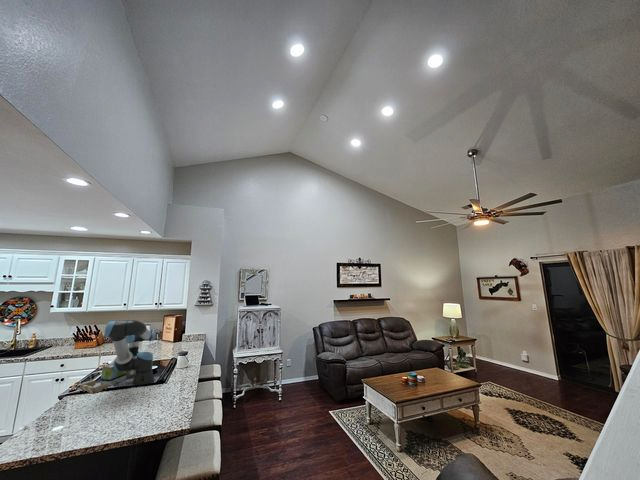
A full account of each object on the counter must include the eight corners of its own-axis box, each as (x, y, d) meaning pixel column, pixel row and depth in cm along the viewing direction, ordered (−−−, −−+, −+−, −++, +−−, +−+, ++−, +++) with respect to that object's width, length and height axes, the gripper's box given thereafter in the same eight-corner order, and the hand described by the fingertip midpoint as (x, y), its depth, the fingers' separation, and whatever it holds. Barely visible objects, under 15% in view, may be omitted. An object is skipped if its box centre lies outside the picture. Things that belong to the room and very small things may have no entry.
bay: (108, 388, 219) (108, 383, 219) (93, 393, 210) (93, 388, 210) (94, 385, 226) (94, 380, 226) (79, 390, 217) (80, 384, 217)
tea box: (110, 386, 224) (111, 367, 225) (100, 385, 226) (101, 366, 227) (126, 379, 238) (127, 361, 240) (116, 378, 240) (118, 360, 242)
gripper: (138, 344, 256) (136, 371, 253) (123, 347, 244) (121, 375, 241) (143, 345, 253) (142, 372, 250) (129, 348, 241) (127, 376, 238)
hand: (132, 373), depth 246 cm, fingers closed
